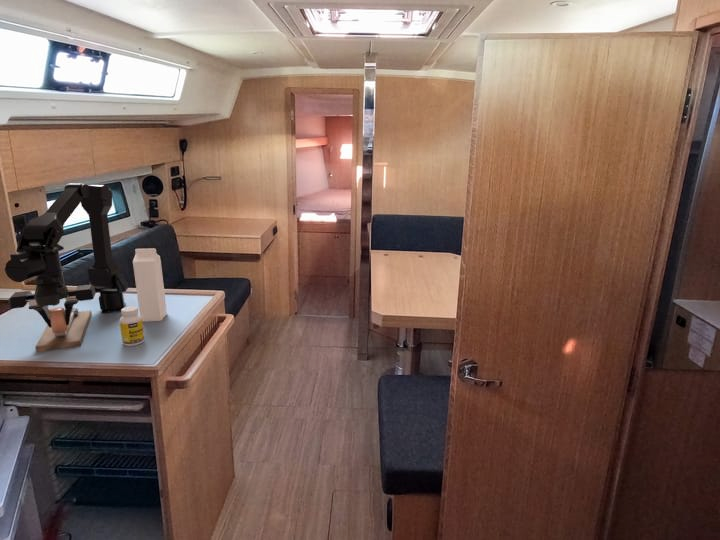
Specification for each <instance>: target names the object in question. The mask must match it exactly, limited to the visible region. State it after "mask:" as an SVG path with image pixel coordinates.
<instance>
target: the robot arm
mask: <svg viewBox="0 0 720 540" xmlns="http://www.w3.org/2000/svg"><path fill="white" fill-rule="evenodd" d="M80 204H81V207H82V209H83V210H84V211H85V212H86V214H87V215H88V217H89V218H88V219H89V220H88V221H89V227H90V236H91V243H92V252H93V264H92V266H91V267H89V268H88V269H87V274H88V282H89V284H83V285H77V287H76V288H75V289H71V290H68V287H67V285H66V284H65V279H64V274H63V269H62V268H63V267H62V263H61V258H60V252H61V251H63V250H65V248H64V246H62V245H60V244H59V242H60V241H61V239H62V237H63V235H64V233H65V230H64V225H65V223H66V222H67V220H68V219H69V218H70V217H71V215H72V214H73V213H74V211H75V210H76V209H77V207H78V206H79V205H80ZM112 207H113V192H112V190H111V188H109V186H107V185H104V184H100V185H99V184H85V183H78V182H77V183H74V182H73V183H71V182H69V183H67V184H66V185H65V186H64V189H63V190H62V192H61V193H60V195H58V196H57V198H56V199H55V200H54V202H53V203H52V204H51V205H50V206H49V207H48V209H47V210H46V211H45V212H44V213H43V214H41V215H39V216H37V217H34V218H32V219H31V220H30V221H28V223H26V224H25V225H24V227H23V228H22V232H21V236H20V239H19V242H18V245H17V248H16V253H12V254H10V255H9V256H10V259H9V260H8V261H7V262H6V264H5V268H4V272H5V274H6V276H7V277H8V278H9V279H10V280H11V281H13V282H15V283H22V282H25V281H28V280H30V279H33V278H35V279H36V285H35V286H36V287H35V291H34V293H32V291H31V290H24V291H16V292H15V291H14V293H13V294H12V295H11V296H10V297H9V298H8V301H7V302H8V308H9V309H20V308H21V309H22V308H25V307H26V305H28V309H29V310H33V311H36V312H37V313H38V314H39V315H40V316H41V318H42V319H43V320H44V322H45V323H46V325H47V326H49V327H50V328H51V322H50V317H49V312H48V311H49V310H50V309H49V307H50V306H55V307H56V306H57V305H59V304H60V303H61V300H63V299H65V302H64V303H63V306H64V310H65V316H66V324H67V325H69V322H70V317H71V313H72V308H74V305H77V304H78V303H79V302H84V301H91V300H93V299H94V298H95V296H96V294H97V293H99V295H98V302H99V303H98V304H99V309H100V311H101V314H105V313H114V312H113V311H116V312H121V309H122V308H125V307H126V306H125V305H126V302H125V297H124V296H125V295H124V293H125V292H127V290H128V287H129V282H128V281H127V280H126V279H125V278H124V277H123V276H122V275H121V271H120V267H118V265H117V263H115V261H114V260H113V253H112V252H113V251H112V243H111V236H110V227H109V226H110V225H109V219H108V218H109V217H108V216H109V215H108V214H109V212H110V210H111V208H112Z"/></svg>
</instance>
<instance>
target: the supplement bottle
mask: <svg viewBox="0 0 720 540" xmlns="http://www.w3.org/2000/svg"><path fill="white" fill-rule="evenodd" d="M120 312H121V313H120V314H121V315H122V316H121V317H120V318H119V326H120V333H121V342H122V344H123V345H124V346H128V347H135V346H137V345H140V344H143V343H144V341H145V333H144V325H143V322H142V317H141V315H140V313H139V307H137V306H136V305H135V306H133V305H129V306H125V308H122V309H121V311H120Z"/></svg>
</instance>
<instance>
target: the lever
mask: <svg viewBox="0 0 720 540" xmlns="http://www.w3.org/2000/svg"><path fill="white" fill-rule="evenodd" d="M48 312H49V317H50V322H51V327H52V332H53V333H55V337H56V336H64V335H66V333H67V331H68V329H69V327H70V325H71V322H72V320H73V318H74V316H75V315H77V314H78V312H79V309H78V308H76V307H73V308H72V313H71V317H70V322H69V325H67V324H66V316H65V307H63V306H62V307H60V306H59V307H54V308H51V309H49V311H48Z"/></svg>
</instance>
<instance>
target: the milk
mask: <svg viewBox="0 0 720 540" xmlns="http://www.w3.org/2000/svg"><path fill="white" fill-rule="evenodd" d="M134 251H135V253H134V254H135V255H134V257H133V259H132V265H133V273H134V274H133V275H134V279H135V288H136V297H137V303H138V304H137V305H138V312H139V315H141V317H142V323H143V322H161V321H162V320H163V319H164V318H165V317H166V316H167V315H168V311H167V304H166V303H167V302H166V295H165V294H166V293H165V287H164V286H165V285H164V279H163V278H164V276H163V269H162V260H161V256H160V255H159V254H158V253H157V249H156V248H153V247H152V248H135V250H134Z"/></svg>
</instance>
